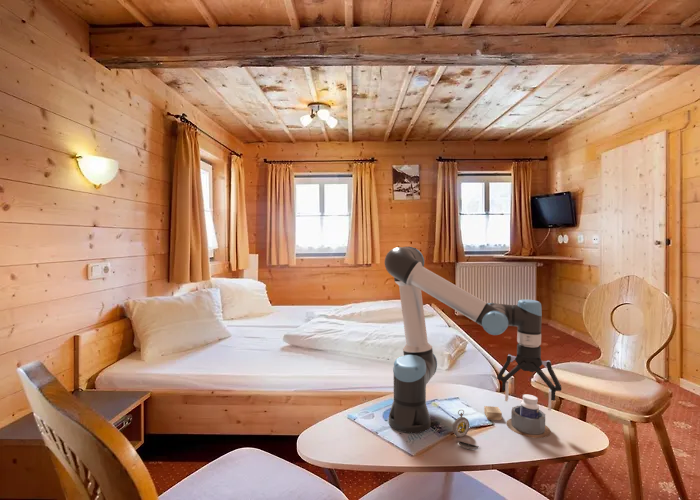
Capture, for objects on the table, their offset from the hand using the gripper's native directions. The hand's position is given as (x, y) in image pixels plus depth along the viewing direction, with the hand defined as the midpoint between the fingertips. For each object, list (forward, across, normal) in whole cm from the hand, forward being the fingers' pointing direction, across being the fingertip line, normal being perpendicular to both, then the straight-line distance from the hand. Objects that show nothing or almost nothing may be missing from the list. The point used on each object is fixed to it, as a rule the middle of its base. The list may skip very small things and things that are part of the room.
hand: (527, 404), depth 127 cm
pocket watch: (+10, -17, -19) cm, 27 cm away
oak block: (+9, -12, +2) cm, 15 cm away
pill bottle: (+7, 0, 0) cm, 7 cm away
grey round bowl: (+8, 0, 0) cm, 8 cm away
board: (+9, 0, 0) cm, 9 cm away
